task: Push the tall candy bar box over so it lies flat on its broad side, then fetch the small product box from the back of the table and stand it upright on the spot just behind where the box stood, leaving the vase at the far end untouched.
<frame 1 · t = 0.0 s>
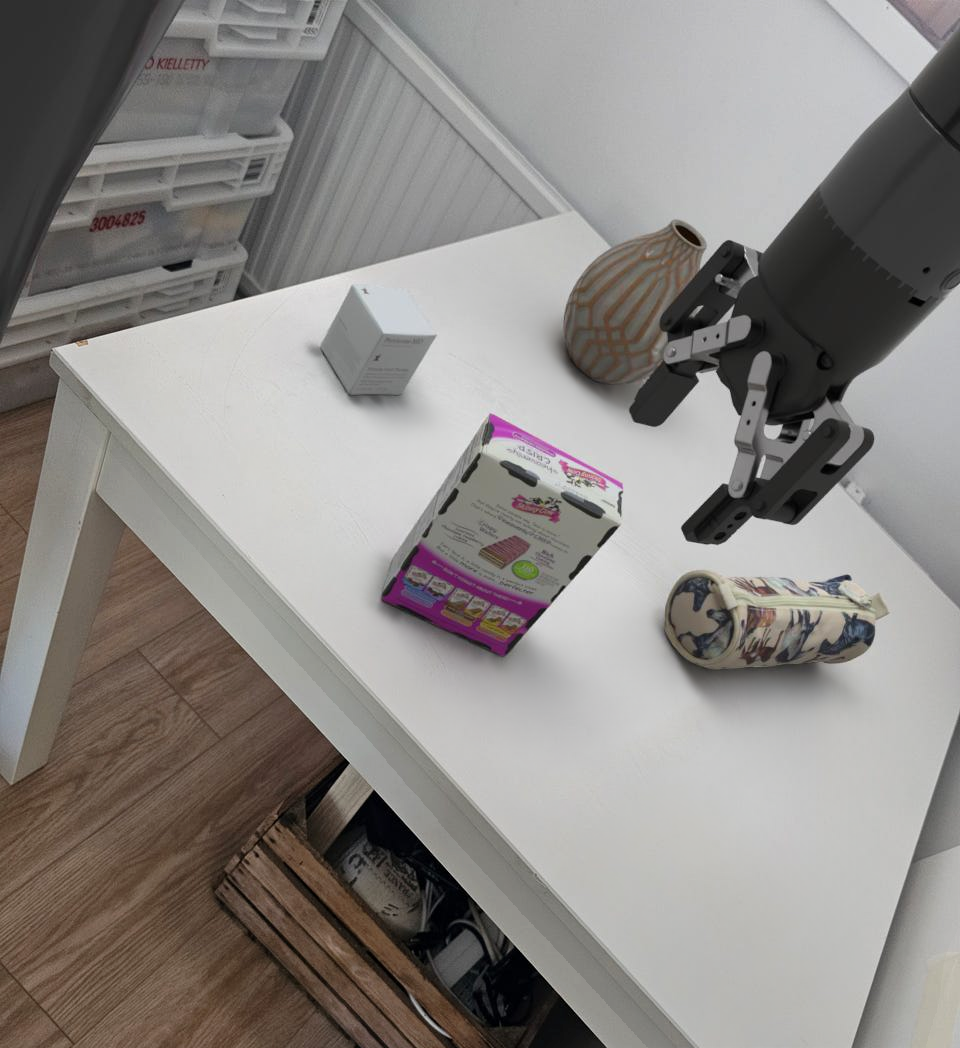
hand: (667, 477, 56), 27 cm above the table, tool pointing down, fingers open, 8 cm apart
product box: (359, 373, 93), on the table
vase: (591, 363, 116), on the table
candy bar box: (445, 609, 81), on the table
pencil case: (737, 648, 98), on the table
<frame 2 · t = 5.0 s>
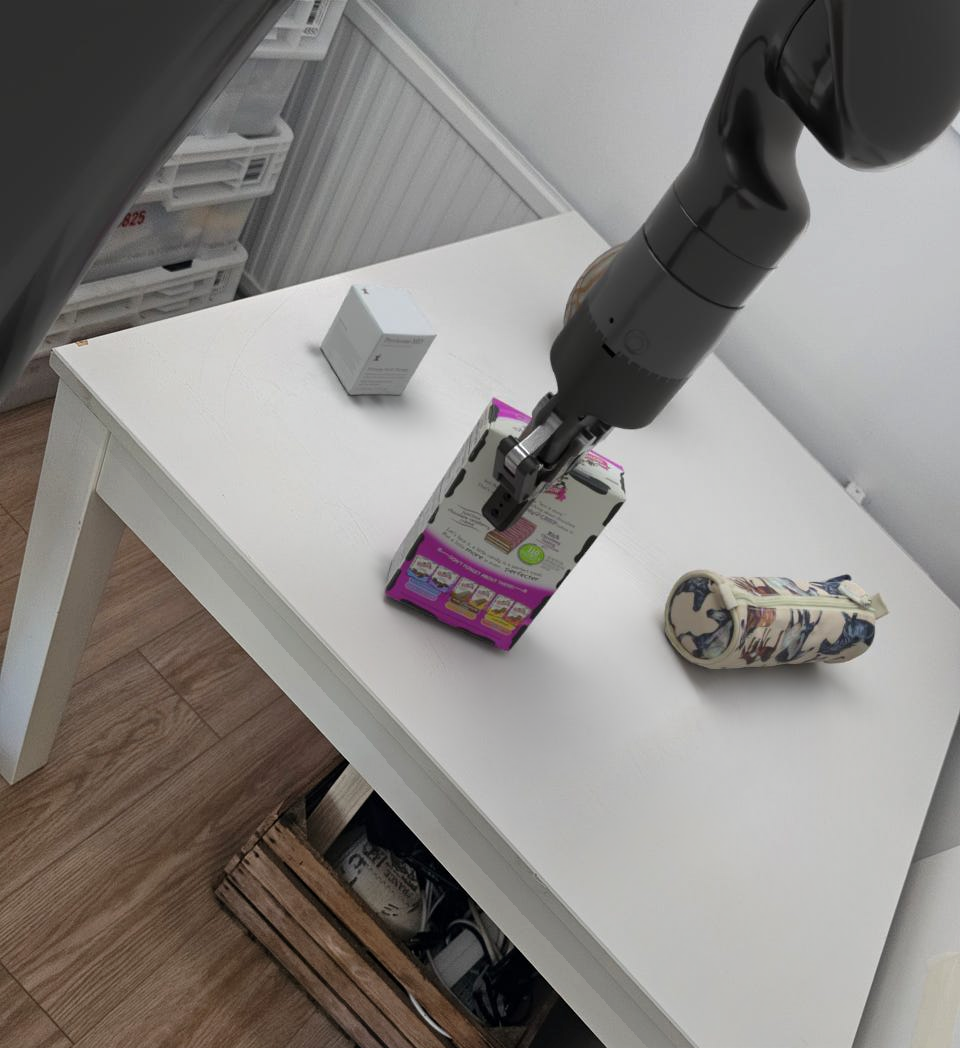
hand: (495, 519, 70), 12 cm above the table, tool pointing down, fingers closed
candy bar box: (446, 607, 81), on the table, touching gripper, hand
everything else where it was.
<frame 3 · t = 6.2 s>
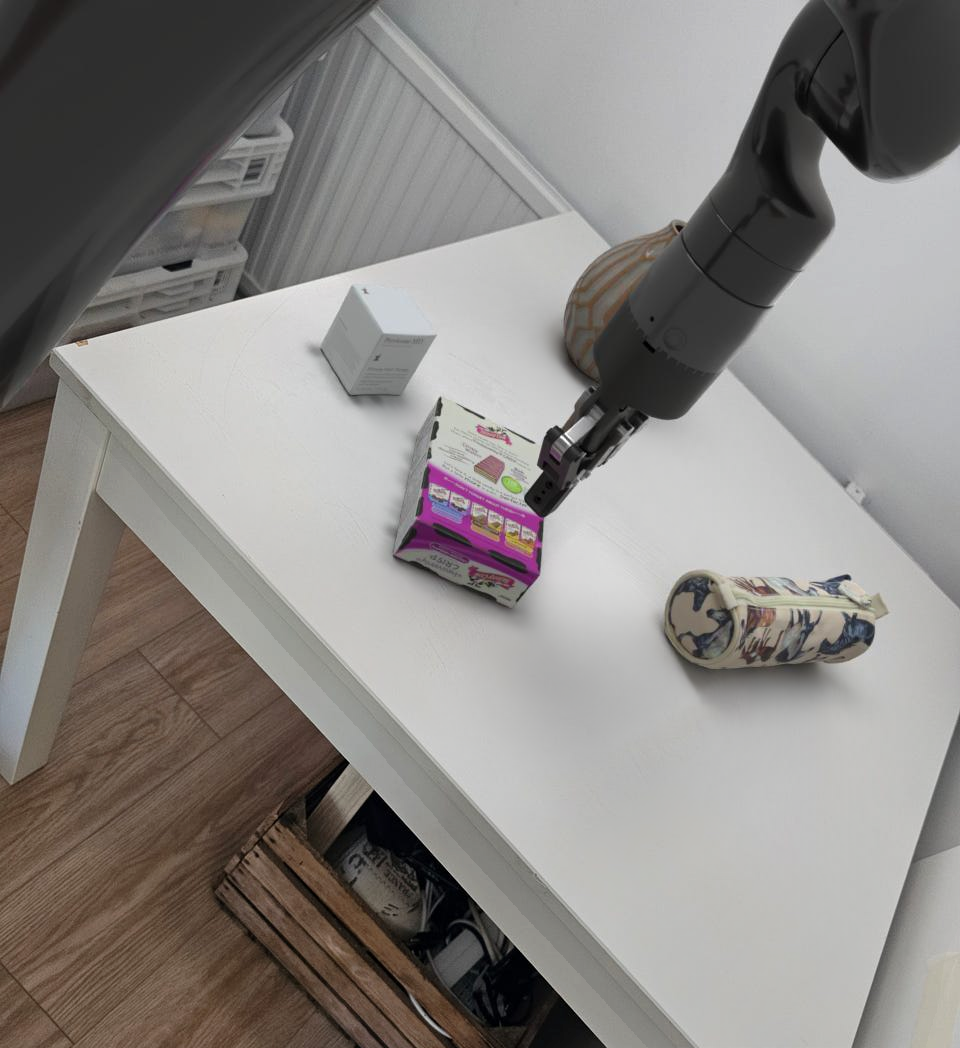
hand: (537, 506, 75), 11 cm above the table, tool pointing down, fingers closed
candy bar box: (464, 569, 81), point 2 cm above the table
everything else where it was.
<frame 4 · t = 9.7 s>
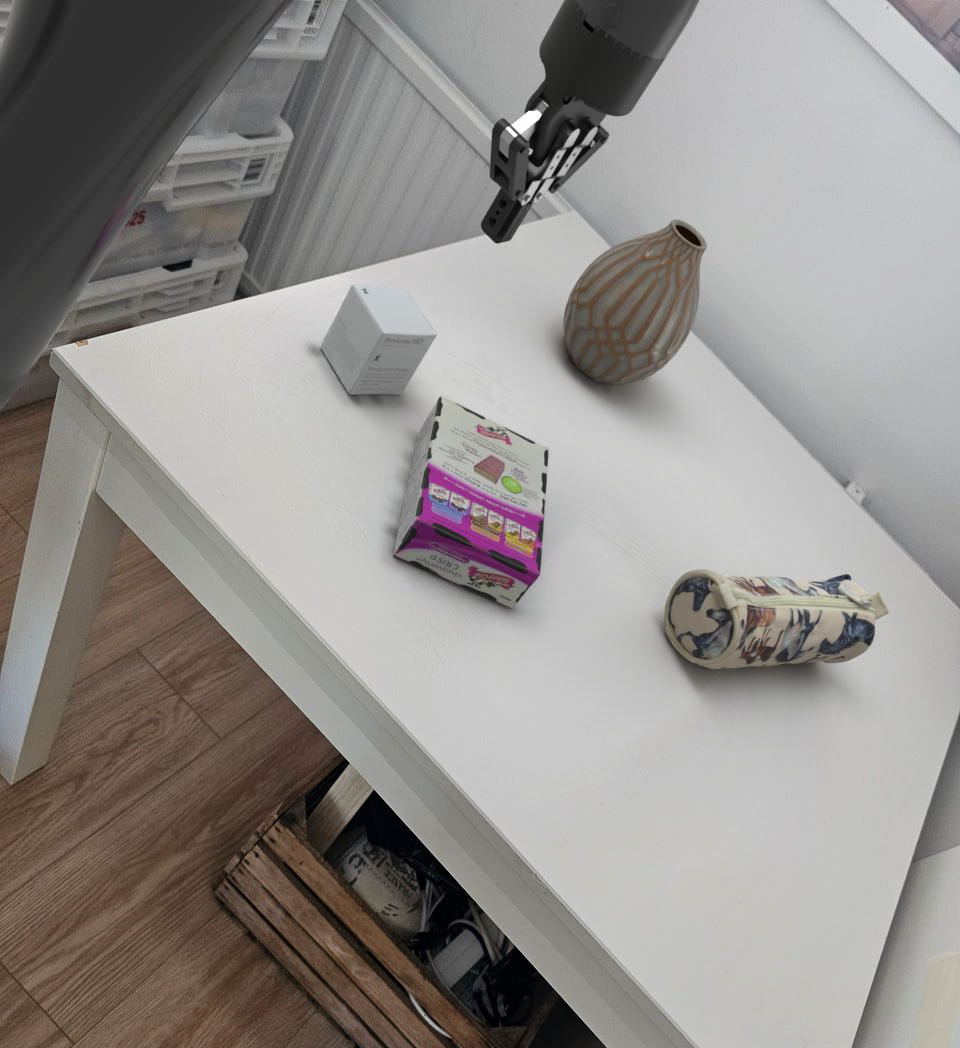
hand: (493, 235, 79), 19 cm above the table, tool pointing down, fingers closed
nothing on the table moved.
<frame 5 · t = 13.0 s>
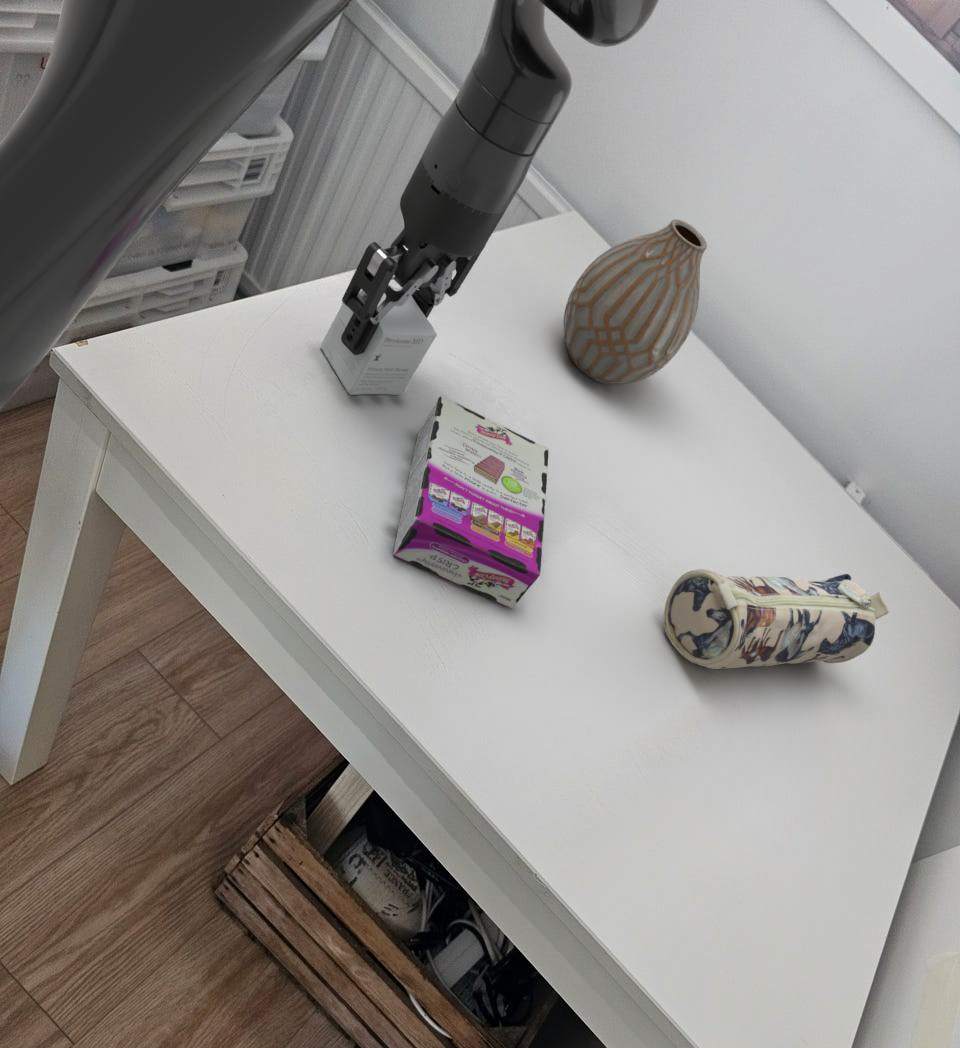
hand: (378, 338, 91), 4 cm above the table, tool pointing down, fingers closed on product box, 7 cm apart
product box: (359, 373, 93), on the table, touching gripper
everything else where it was.
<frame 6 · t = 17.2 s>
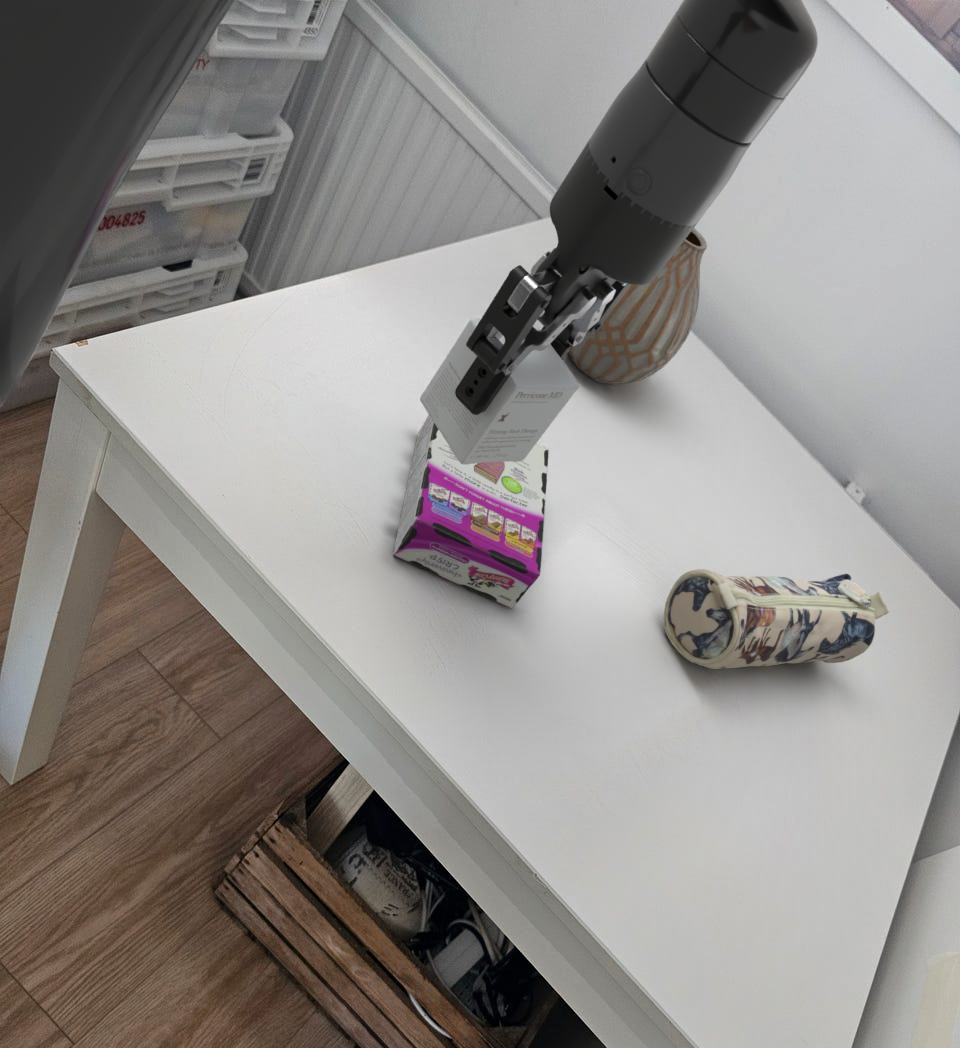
hand: (499, 389, 68), 18 cm above the table, tool pointing down, fingers closed on product box, 7 cm apart
product box: (469, 433, 71), point 14 cm above the table, touching gripper
everything else where it was.
when the fingers open (4 cm above the table, at t = 21.5 s): product box stays where it is, on the table.
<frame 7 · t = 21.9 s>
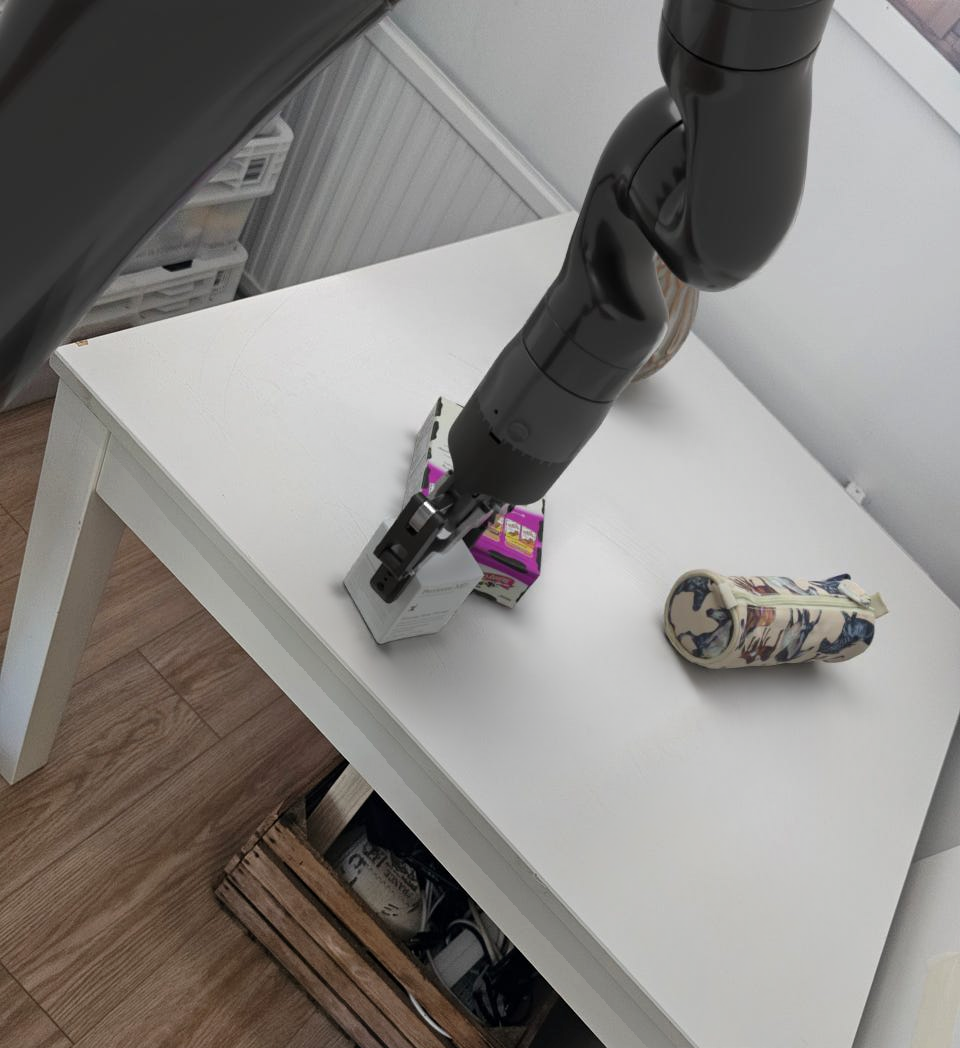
hand: (417, 571, 75), 5 cm above the table, tool pointing down, fingers open, 8 cm apart
product box: (389, 608, 78), on the table
everything else where it was.
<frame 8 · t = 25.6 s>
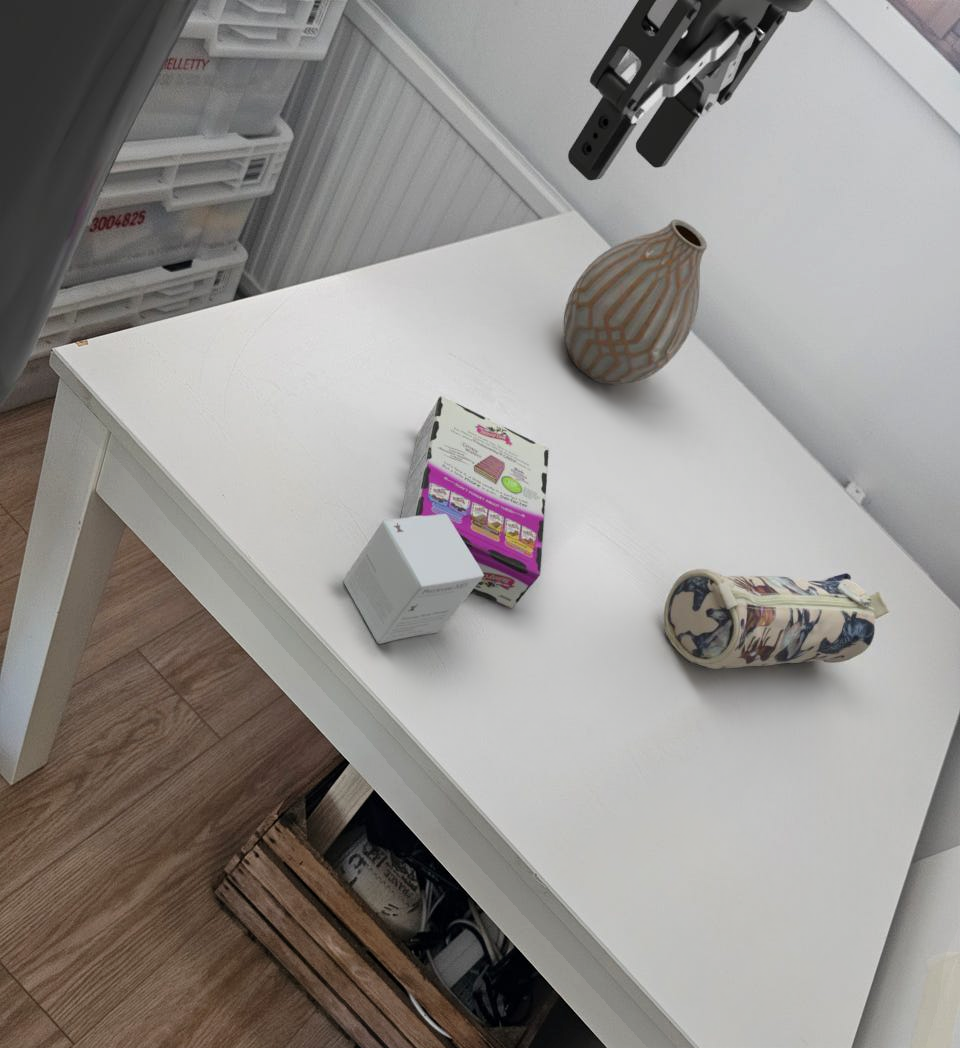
hand: (616, 164, 61), 33 cm above the table, tool pointing down, fingers open, 8 cm apart
nothing on the table moved.
at the end: candy bar box tilted 89°; product box 0.1 cm from the target spot, on the table; vase moved 0.2 cm from its start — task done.
